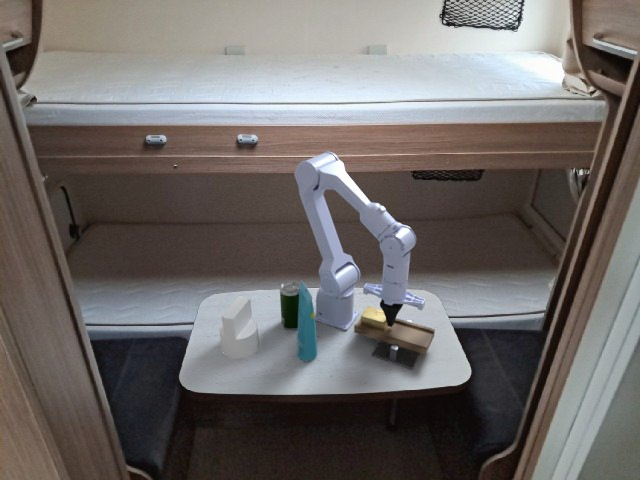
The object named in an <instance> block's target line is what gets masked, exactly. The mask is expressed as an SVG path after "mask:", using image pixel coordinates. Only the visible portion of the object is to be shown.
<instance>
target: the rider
mask: <svg viewBox="0 0 640 480" xmlns="http://www.w3.org/2000/svg"><path fill="white" fill-rule="evenodd" d="M360 318H361V326H365V327H368V328H371V329H375V330H378V331H381V332H384V331H385V329H386V328H387V320H386V317H385V314H384V312H383V310H382V309H380V308H376V307H373V306H369V305H367V307H366V308H365V309H364V310H363V312H362V313H361V315H360Z"/></svg>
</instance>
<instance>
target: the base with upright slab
mask: <svg viewBox="0 0 640 480" xmlns="http://www.w3.org/2000/svg"><path fill="white" fill-rule="evenodd" d="M218 330H219V336H220V343H221V344H220V345H221V350H222V353H223V352H224V353H223V354H224V355H225V356H226V357H227V356H228V357H227V358H229V357H230V359H232V358H234V360H242V359H243V360H244V359H247V358H249V357H251V356H253V355H254V354H256V353H257V351H258V349H259V348H260V340H259V339H260V338H259V328H258V323H257V321H256V319H255V318H253V312H252V302H251V297H249V296H247V295H238V296H237V298H236V299H235V300H234V301H233V302H232V303H231V305H230V306H229V307H228V308H227V309H226V310H225V311H224V313H223V314H221V324H220V325H219V329H218Z"/></svg>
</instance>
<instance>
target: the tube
mask: <svg viewBox="0 0 640 480" xmlns="http://www.w3.org/2000/svg"><path fill="white" fill-rule="evenodd" d="M299 284H300V294H299V309H298V329H297V334H296V335H297V338H296V345H297V346H296V356H297V358H298V359H299V360H301V361H303V362H311V361H313V360H315V359H316V358H317V357H318V343H317V342H318V341H317V328H316V327H317V326H316V325H317V324H316V320H315V317H316V313H315V308H314V303H313V295H312V293H311V292H310V290H309V289H308V287H307V285H306V284H305V283H304V282H303V281H302V279H300V283H299Z"/></svg>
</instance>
